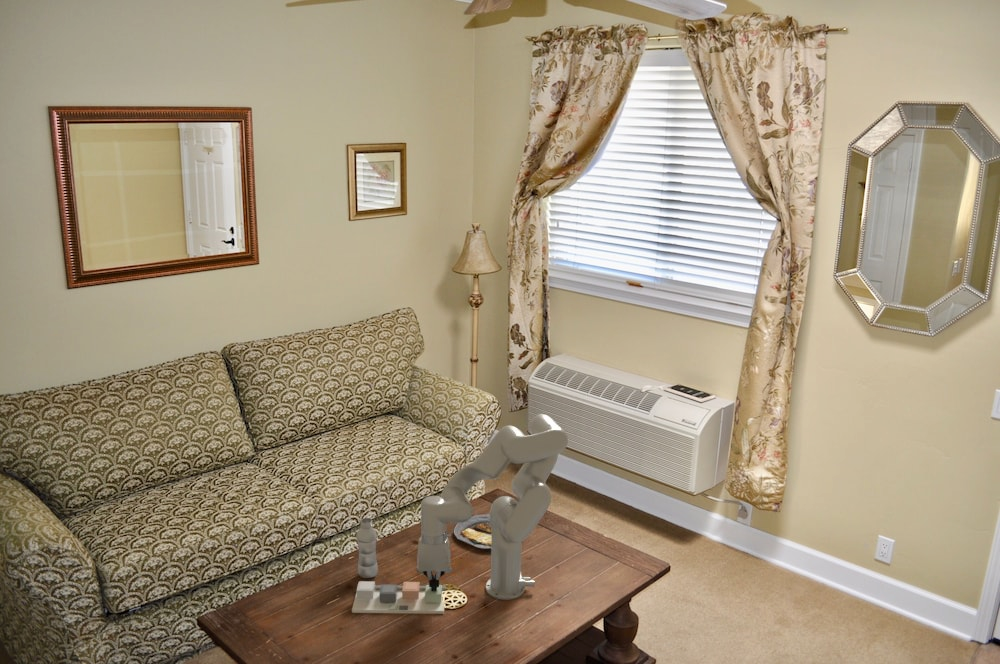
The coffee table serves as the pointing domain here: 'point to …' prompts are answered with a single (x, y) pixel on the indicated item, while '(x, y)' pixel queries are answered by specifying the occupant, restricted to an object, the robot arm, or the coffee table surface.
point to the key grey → (365, 589)
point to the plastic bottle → (367, 549)
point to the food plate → (472, 536)
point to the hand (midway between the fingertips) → (434, 588)
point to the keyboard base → (397, 604)
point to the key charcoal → (388, 593)
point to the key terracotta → (411, 590)
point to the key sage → (433, 595)
